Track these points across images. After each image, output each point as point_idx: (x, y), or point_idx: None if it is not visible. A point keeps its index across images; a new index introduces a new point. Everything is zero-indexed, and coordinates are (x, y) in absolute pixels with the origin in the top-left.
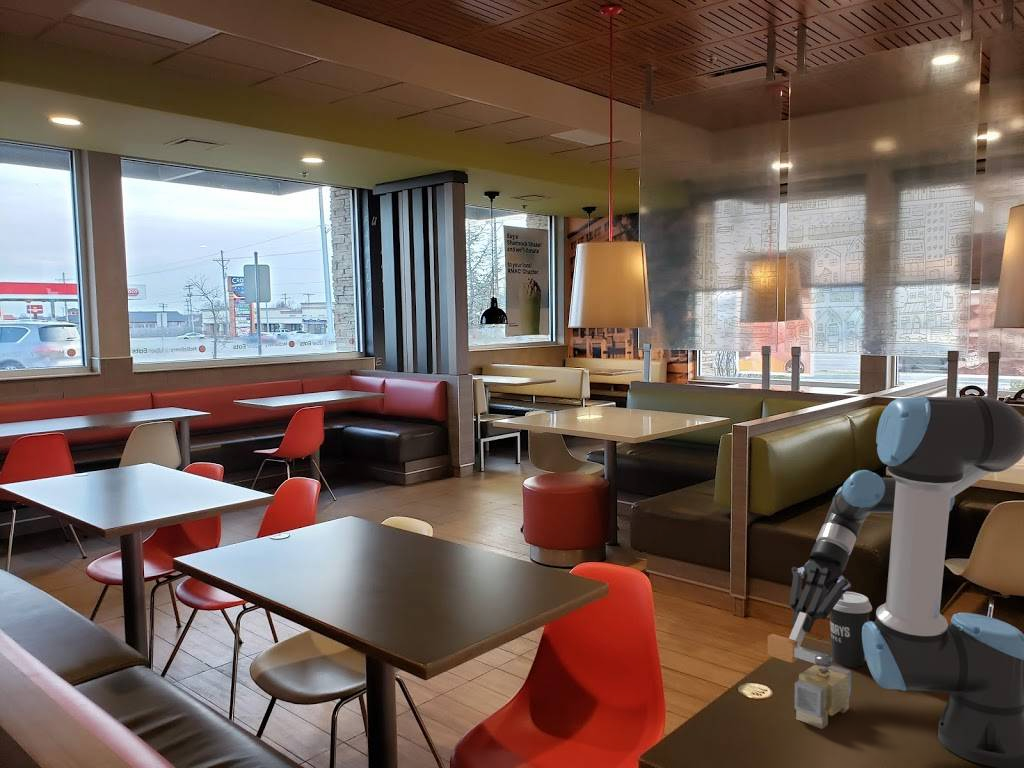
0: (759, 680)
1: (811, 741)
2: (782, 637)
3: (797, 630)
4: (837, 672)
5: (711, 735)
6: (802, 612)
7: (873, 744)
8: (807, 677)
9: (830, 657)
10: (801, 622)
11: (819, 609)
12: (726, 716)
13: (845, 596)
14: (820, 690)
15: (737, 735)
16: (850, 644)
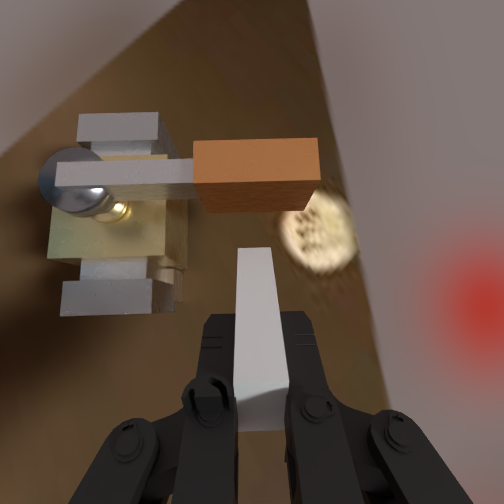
0: (344, 283)
1: None
2: (262, 170)
3: (247, 280)
4: (81, 254)
5: (264, 20)
6: (287, 419)
7: (27, 195)
8: (140, 155)
9: (49, 194)
10: (243, 317)
11: (129, 465)
12: (288, 90)
13: None
14: (83, 120)
15: (232, 49)
16: None
